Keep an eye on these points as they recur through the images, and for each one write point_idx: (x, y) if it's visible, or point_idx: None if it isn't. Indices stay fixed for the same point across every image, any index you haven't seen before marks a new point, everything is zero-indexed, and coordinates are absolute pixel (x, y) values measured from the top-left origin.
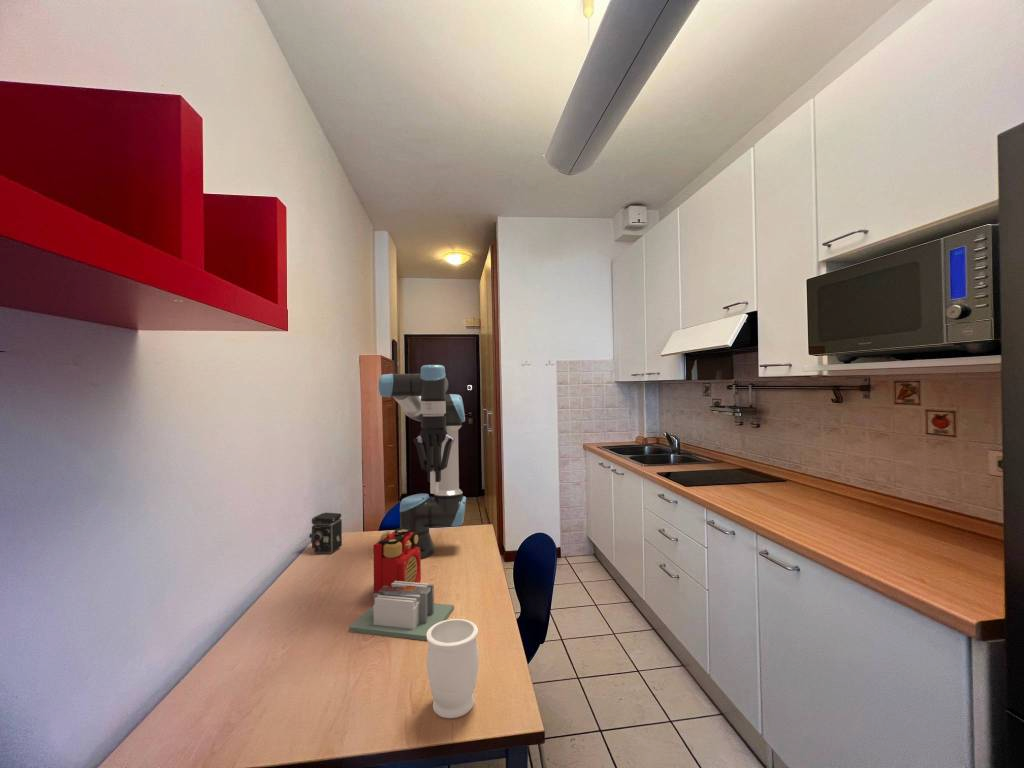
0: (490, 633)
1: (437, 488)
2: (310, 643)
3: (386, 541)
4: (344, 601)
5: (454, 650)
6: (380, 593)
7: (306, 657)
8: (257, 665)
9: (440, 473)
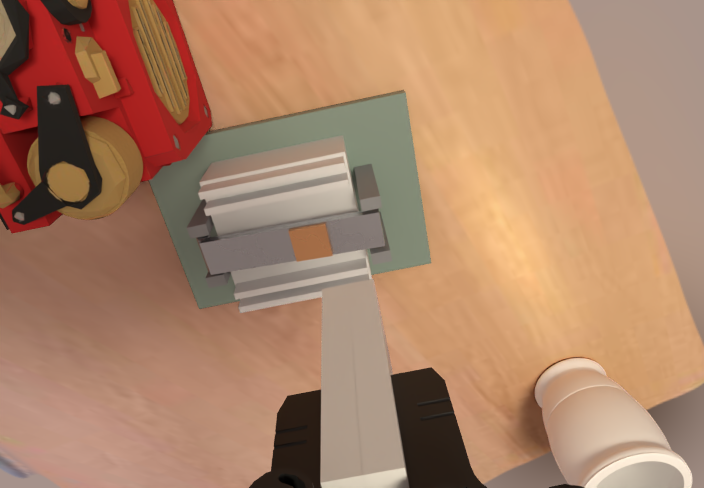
0: (567, 168)
1: (381, 322)
2: (164, 365)
3: (56, 210)
4: None
5: None
6: (223, 275)
7: (207, 397)
8: (143, 443)
9: (467, 462)
